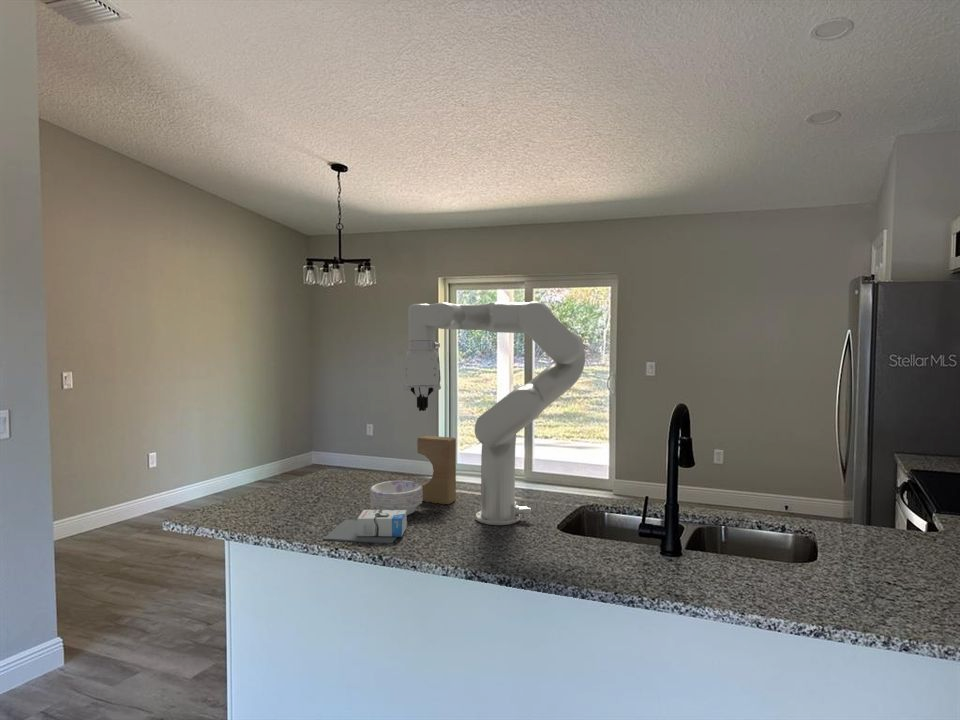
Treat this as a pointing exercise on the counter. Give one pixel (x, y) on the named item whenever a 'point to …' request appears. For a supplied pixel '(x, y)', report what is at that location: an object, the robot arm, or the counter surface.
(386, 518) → the ink box
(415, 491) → the paper bowls
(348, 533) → the mat
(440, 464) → the decorative block
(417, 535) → the counter surface
